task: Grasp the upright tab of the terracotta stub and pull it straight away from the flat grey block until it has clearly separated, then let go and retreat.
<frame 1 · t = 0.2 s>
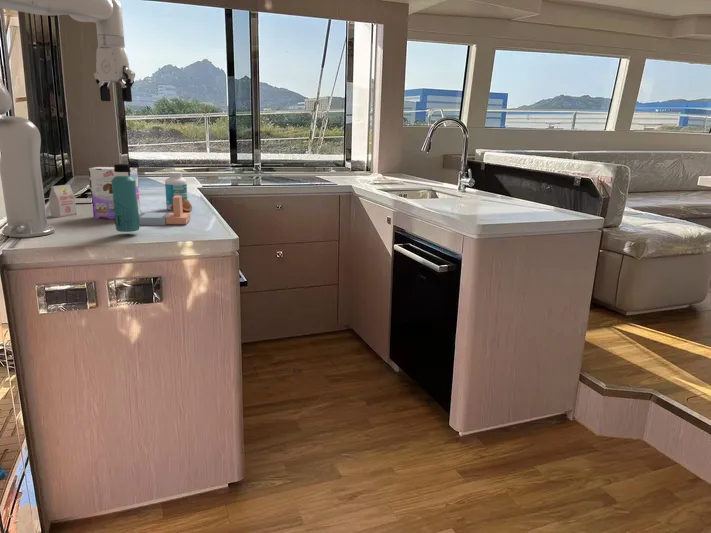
hand: (116, 101, 169), 37 cm above the counter, tool pointing down, fingers open, 9 cm apart
pill bottle: (177, 209, 196), on the counter
gable top carton: (64, 216, 178), on the counter
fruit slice: (181, 214, 187), on the counter
stub: (178, 209, 171), point 4 cm above the counter, slide at 0.0 cm
flat grey block: (168, 222, 172), on the counter
beverage bottle: (128, 235, 153), on the counter
candy box: (117, 218, 177), on the counter
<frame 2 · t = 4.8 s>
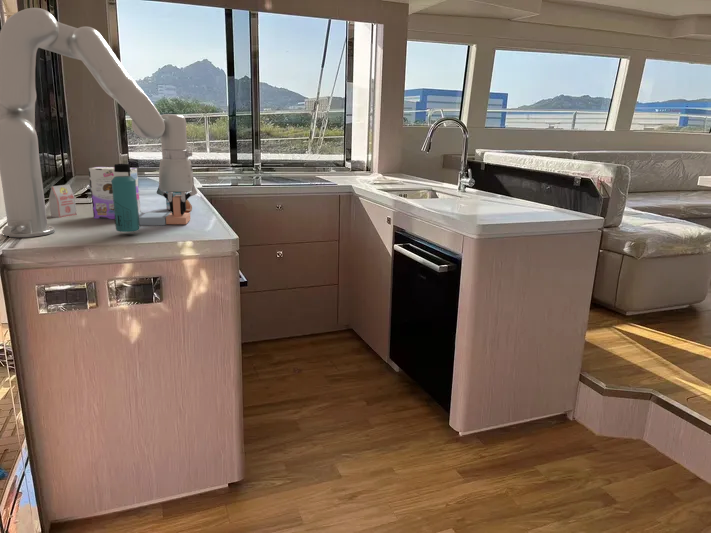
hand: (178, 213, 172), 3 cm above the counter, tool pointing down, fingers closed on stub, 2 cm apart
stub: (178, 209, 171), point 4 cm above the counter, slide at 0.0 cm, touching gripper
everything else where it was.
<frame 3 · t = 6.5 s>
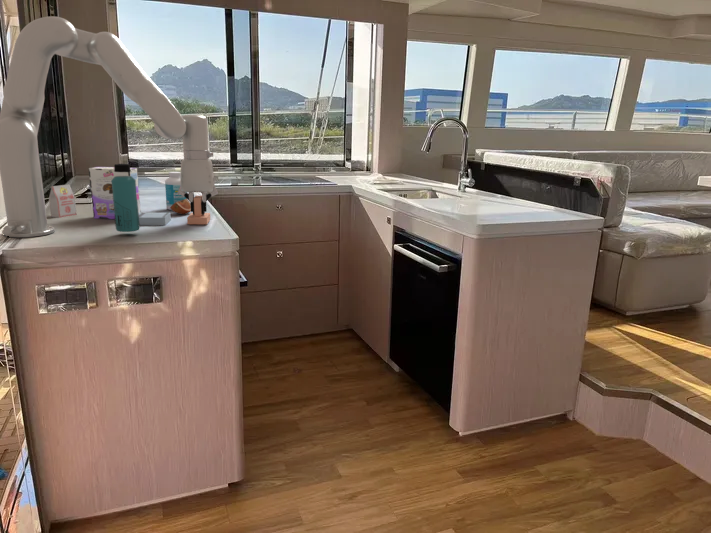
hand: (198, 213, 172), 3 cm above the counter, tool pointing down, fingers closed on stub, 2 cm apart
stub: (198, 209, 172), point 4 cm above the counter, slide at 6.4 cm, touching gripper
everything else where it was.
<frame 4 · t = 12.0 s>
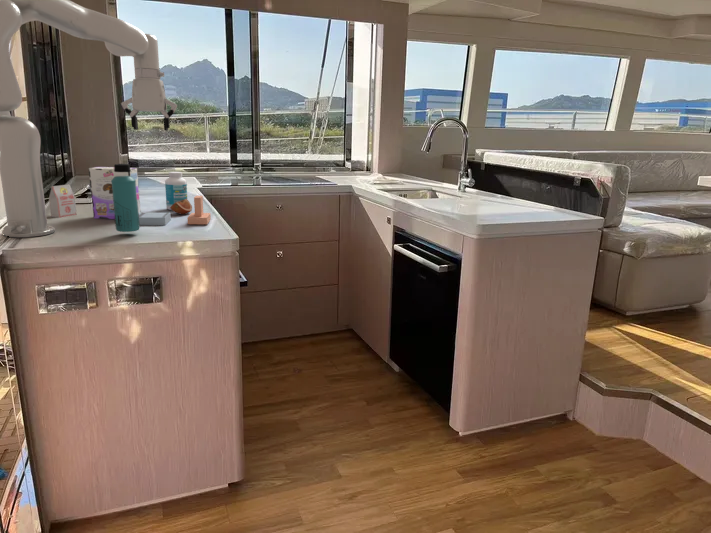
hand: (151, 130, 178), 28 cm above the counter, tool pointing down, fingers open, 9 cm apart
stub: (198, 209, 172), point 4 cm above the counter, slide at 6.5 cm
everything else where it was.
at the end: stub slide at 6.5 cm; the gripper is holding nothing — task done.
